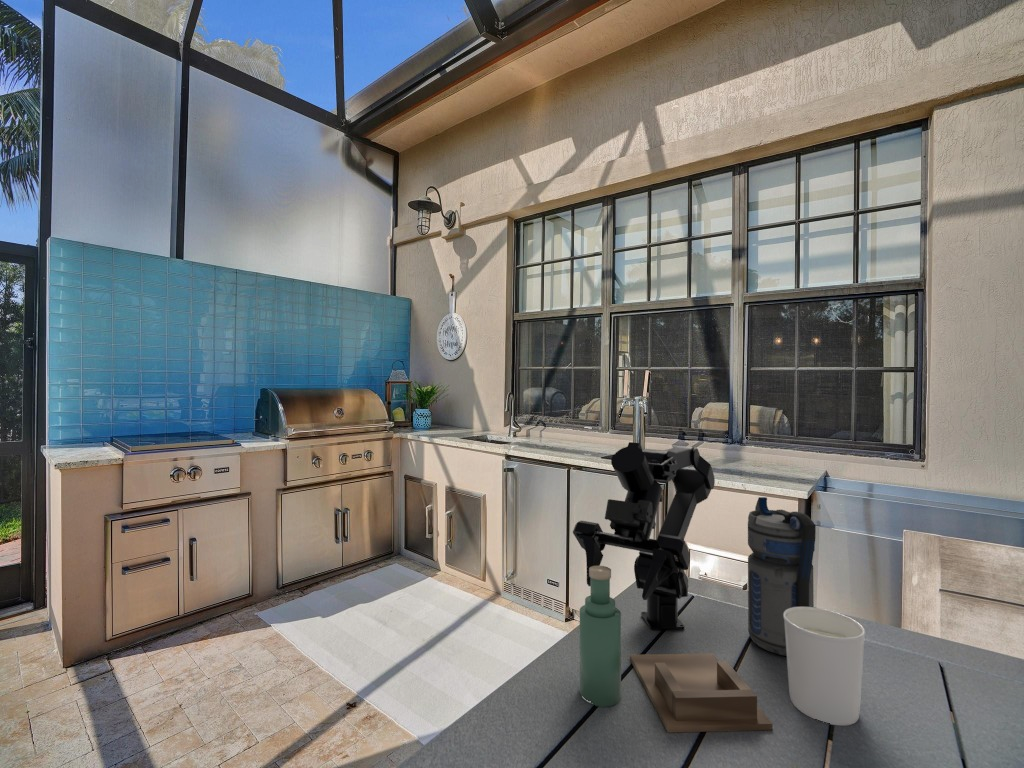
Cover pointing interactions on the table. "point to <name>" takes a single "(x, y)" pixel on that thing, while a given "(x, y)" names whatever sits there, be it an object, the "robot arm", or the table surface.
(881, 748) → the table surface
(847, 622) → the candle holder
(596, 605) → the oil bottle
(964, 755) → the table surface
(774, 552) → the beverage bottle
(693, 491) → the robot arm
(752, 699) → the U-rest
